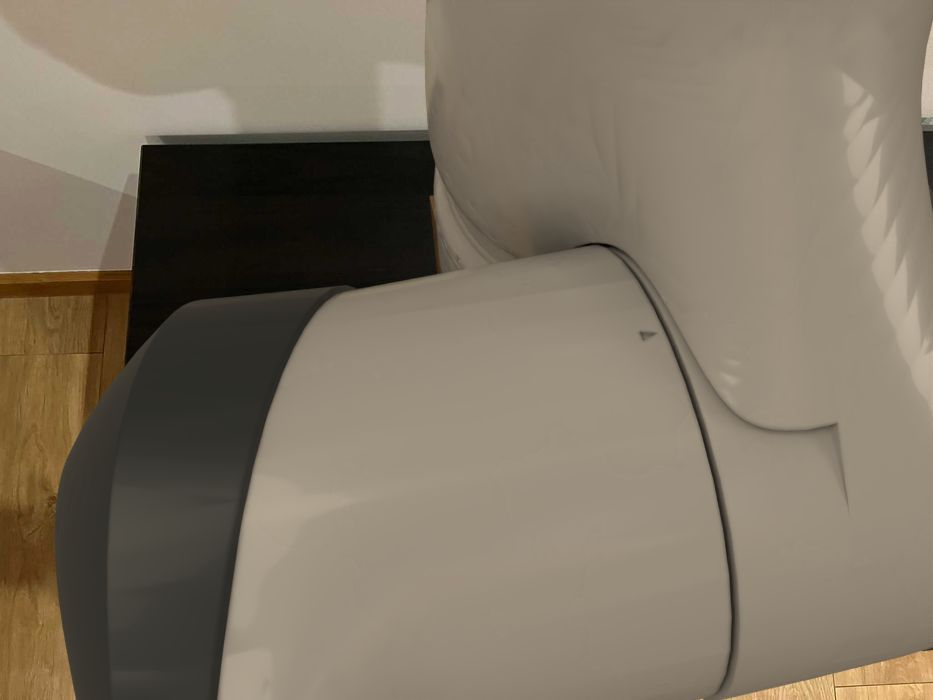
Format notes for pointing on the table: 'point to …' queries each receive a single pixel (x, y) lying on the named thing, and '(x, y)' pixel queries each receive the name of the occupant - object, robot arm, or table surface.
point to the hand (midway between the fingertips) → (523, 324)
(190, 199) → the table surface
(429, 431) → the robot arm
